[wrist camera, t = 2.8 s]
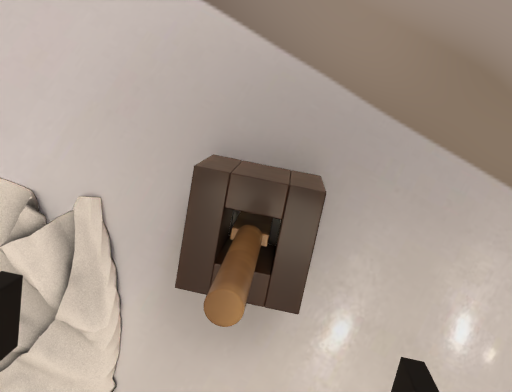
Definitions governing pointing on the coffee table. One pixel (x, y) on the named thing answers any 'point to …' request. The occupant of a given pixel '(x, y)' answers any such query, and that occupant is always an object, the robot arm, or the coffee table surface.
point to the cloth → (60, 296)
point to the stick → (237, 270)
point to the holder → (256, 202)
